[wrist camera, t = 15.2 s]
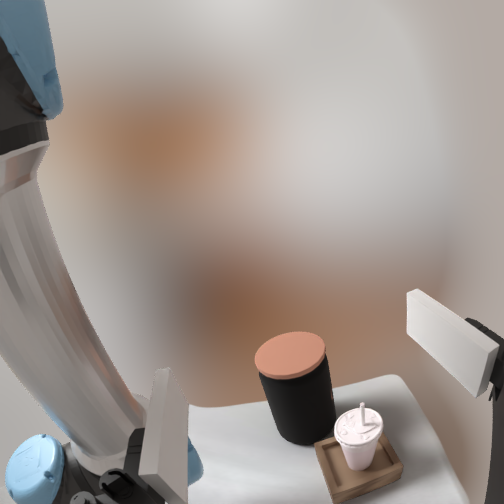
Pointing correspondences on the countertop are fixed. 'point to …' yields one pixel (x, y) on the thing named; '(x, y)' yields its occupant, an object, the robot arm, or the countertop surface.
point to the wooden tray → (356, 482)
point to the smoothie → (359, 435)
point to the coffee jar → (297, 386)
